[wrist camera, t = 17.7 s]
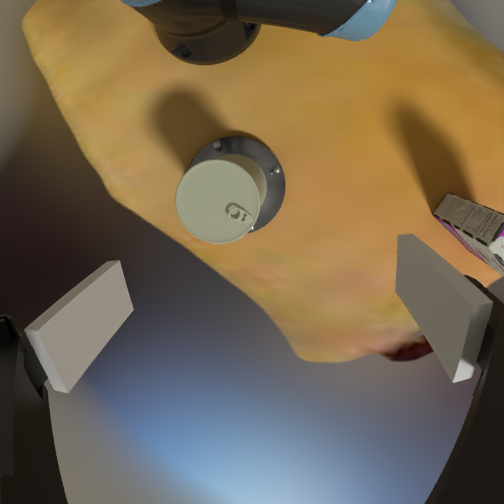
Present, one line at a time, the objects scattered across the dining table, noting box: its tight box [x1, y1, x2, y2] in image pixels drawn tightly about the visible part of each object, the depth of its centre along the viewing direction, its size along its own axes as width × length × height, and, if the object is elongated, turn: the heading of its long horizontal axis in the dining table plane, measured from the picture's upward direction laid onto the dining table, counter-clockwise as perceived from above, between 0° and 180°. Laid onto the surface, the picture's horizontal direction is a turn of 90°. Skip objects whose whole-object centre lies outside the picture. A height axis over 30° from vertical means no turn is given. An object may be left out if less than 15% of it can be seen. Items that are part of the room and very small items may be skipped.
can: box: [175, 154, 267, 244], centre depth 38 cm, size 9×9×12 cm
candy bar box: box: [433, 193, 504, 276], centre depth 35 cm, size 11×5×16 cm, turn 58°
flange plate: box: [189, 136, 285, 233], centre depth 44 cm, size 14×14×1 cm
